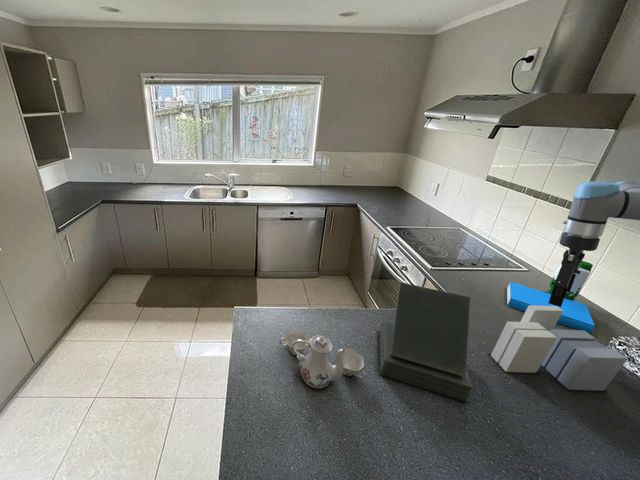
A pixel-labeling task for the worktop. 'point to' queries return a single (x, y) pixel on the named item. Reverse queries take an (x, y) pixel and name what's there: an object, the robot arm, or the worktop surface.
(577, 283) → the milk carton
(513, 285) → the book
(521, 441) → the worktop surface
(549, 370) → the grey books
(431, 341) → the dark grey display stand
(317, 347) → the chinaware
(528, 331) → the white books
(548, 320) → the thin white book
